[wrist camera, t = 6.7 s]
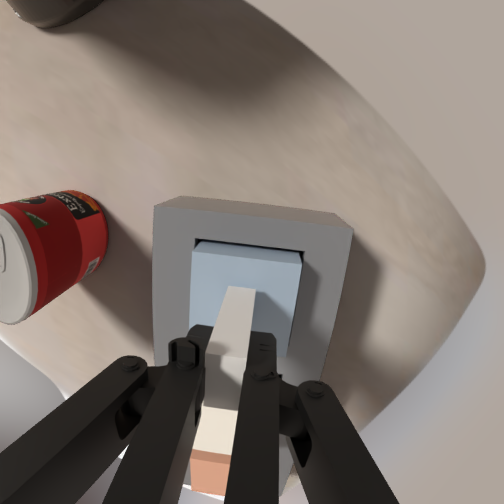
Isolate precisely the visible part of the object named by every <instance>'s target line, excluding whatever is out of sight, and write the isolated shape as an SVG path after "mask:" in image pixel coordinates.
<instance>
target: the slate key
mask: <svg viewBox="0 0 504 504" xmlns="http://www.w3.org/2000/svg"><path fill="white" fill-rule="evenodd" d="M301 268H302V263H301V259H300V256H299V252H298V250H292V249H284V248H276V247H267V246H259V245H250V244H242V243H234V242H225V241H217V240H208V239H203V240H202V241H201V242H200V243H199V244H198V245H197V247H196V248H195V249H194V250H193V251H192V264H191V285H190V313H189V330H190V328H192V327H193V326H195V325H196V324H200V325H207V326H215V323H216V320H217V317H218V314H219V311H220V308H221V305H222V302H223V300H224V297H225V294H226V291H227V288H228V286H235V287H243V288H251V289H256V293H255V301H254V309H253V318H252V326H251V331H258V332H267V333H272V334H273V335H274V337H275V338H276V339H277V356H278V357H286V353H287V348H288V343H289V338H290V332H291V327H292V321H293V316H294V310H295V304H296V299H297V293H298V287H299V281H300V275H301Z"/></svg>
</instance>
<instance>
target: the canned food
mask: <svg viewBox="0 0 504 504" xmlns="http://www.w3.org/2000/svg"><path fill="white" fill-rule="evenodd" d="M107 245H108V227H107V222H106V219H105V216H104V214H103V212H102V210H101V208H100V207H99V205H98V204H97V203H96V202H95V201H94V200H93V199H92V198H91V197H89V196H88V195H86V194H84V193H81V192H78V191H74V190H67V191H61V192H56V193H51V194H46V195H41V196H36V197H31V198H27V199H22V200H18V201H13V202H9V203H5V204H0V322H2V323H5V324H8V325H15V324H17V323H20V322H21V321H23V320H26V319H27V318H28V317H30V316H31V315H33V314H34V313H36V312H37V311H38V310H40V309H41V308H42V307H44V306H45V305H47V304H48V303H49V302H51V301H52V300H53V299H55V298H56V297H58V296H59V295H60V294H62V293H63V292H65V291H66V290H67V289H69V288H70V287H72V286H73V285H75V284H76V283H77V282H79V281H80V280H82V279H83V278H85V277H86V276H88V275H89V274H90V273H92V272H93V271H94V270H95V269H96V268H97V267H98V266H99V265H100V263H101V261H102V259H103V257H104V255H105V253H106V249H107Z"/></svg>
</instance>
